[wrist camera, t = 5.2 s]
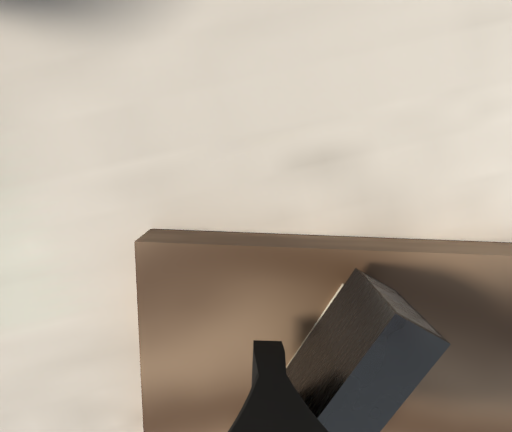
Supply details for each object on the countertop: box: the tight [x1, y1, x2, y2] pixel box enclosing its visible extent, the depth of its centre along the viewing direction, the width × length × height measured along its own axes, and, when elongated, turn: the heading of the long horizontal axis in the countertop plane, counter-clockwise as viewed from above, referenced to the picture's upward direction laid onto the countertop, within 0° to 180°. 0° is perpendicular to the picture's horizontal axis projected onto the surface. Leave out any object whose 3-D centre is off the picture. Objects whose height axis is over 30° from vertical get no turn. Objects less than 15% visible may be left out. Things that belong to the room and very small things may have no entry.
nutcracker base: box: [135, 229, 512, 432], centre depth 15 cm, size 18×18×2 cm
